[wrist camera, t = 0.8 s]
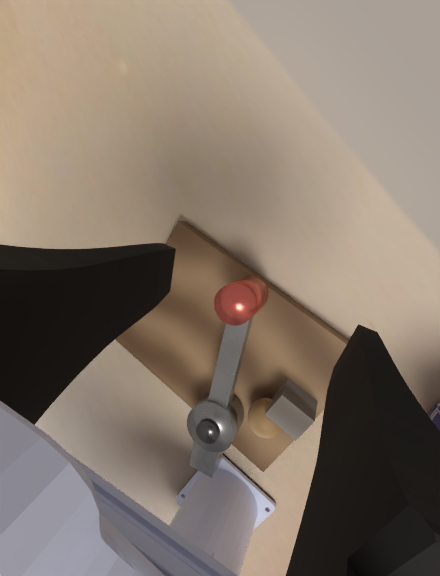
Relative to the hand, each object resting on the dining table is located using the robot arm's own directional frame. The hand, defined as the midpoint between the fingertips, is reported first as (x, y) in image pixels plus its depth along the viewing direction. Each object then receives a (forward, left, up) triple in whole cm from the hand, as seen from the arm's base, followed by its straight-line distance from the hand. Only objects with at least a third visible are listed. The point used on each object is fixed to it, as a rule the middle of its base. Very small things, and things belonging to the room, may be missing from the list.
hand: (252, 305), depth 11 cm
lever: (-12, -1, -14) cm, 18 cm away
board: (-10, +1, -16) cm, 19 cm away
